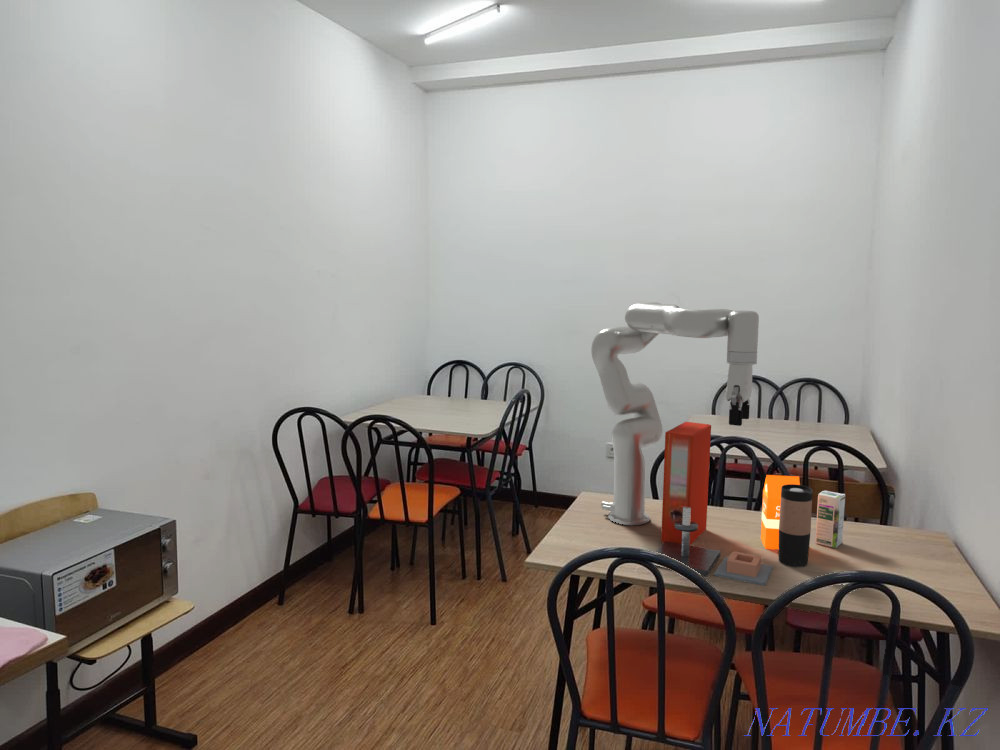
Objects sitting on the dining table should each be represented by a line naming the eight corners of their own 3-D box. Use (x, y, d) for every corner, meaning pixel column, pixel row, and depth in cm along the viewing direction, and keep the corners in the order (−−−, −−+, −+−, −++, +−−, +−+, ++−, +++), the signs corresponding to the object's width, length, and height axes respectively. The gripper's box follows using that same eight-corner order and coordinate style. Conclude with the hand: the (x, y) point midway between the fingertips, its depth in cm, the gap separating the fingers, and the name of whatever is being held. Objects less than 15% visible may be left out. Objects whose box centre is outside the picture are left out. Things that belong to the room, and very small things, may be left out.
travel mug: (773, 556, 190) (776, 484, 187) (801, 556, 189) (805, 484, 187) (783, 567, 182) (787, 492, 179) (813, 567, 182) (817, 492, 179)
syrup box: (814, 543, 198) (817, 493, 197) (821, 538, 203) (824, 489, 201) (835, 548, 195) (839, 498, 193) (842, 543, 199) (846, 493, 197)
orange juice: (798, 551, 193) (802, 480, 190) (764, 548, 195) (768, 478, 192) (792, 541, 201) (796, 472, 198) (760, 538, 202) (763, 471, 200)
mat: (714, 575, 177) (714, 573, 177) (724, 559, 188) (724, 557, 187) (764, 585, 171) (764, 583, 171) (772, 568, 182) (772, 565, 182)
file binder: (707, 529, 210) (711, 424, 205) (689, 548, 195) (693, 435, 191) (680, 524, 214) (684, 421, 210) (661, 542, 200) (664, 432, 195)
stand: (648, 564, 184) (650, 511, 182) (665, 546, 197) (666, 495, 195) (706, 576, 177) (709, 520, 175) (720, 556, 190) (722, 504, 188)
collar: (726, 571, 178) (727, 560, 178) (732, 562, 184) (733, 551, 184) (755, 577, 175) (756, 565, 174) (760, 567, 181) (761, 556, 180)
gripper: (733, 354, 194) (731, 415, 197) (719, 360, 179) (717, 426, 182) (762, 355, 191) (759, 417, 193) (750, 362, 176) (747, 429, 178)
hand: (739, 421), depth 187 cm, fingers open, 9 cm apart
